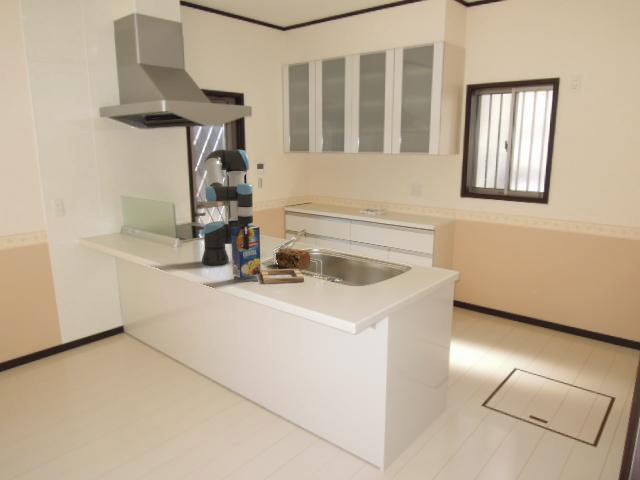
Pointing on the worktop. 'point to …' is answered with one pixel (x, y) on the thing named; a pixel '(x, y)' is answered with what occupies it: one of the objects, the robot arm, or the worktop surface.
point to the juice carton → (246, 252)
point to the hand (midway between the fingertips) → (246, 260)
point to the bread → (293, 258)
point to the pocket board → (296, 272)
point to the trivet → (246, 278)
